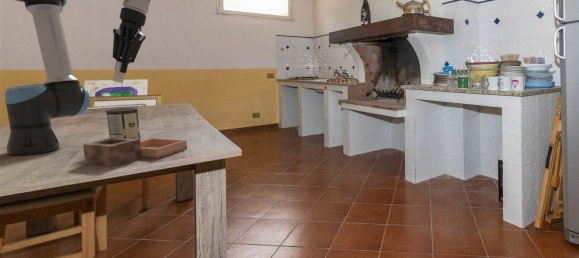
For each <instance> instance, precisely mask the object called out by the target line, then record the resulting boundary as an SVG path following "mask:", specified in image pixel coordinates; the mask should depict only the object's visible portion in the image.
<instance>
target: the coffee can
mask: <svg viewBox="0 0 579 258" xmlns="http://www.w3.org/2000/svg"><path fill="white" fill-rule="evenodd" d="M138 111H139V108H136V107H123V108H112V109H107V110H106V111H105V114H106V120H107V129H108V137H109V138H127V139H140V140H141V133H140V122H139V121H140V120H139V113H138ZM109 138H108V139H109Z"/></svg>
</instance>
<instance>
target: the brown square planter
mask: <svg viewBox="0 0 579 258" xmlns="http://www.w3.org/2000/svg"><path fill="white" fill-rule="evenodd" d="M140 141H141V138H140V139H127V138H105V139H102V140H97V141H92V142H89V143H84V144H82V148H83V155H84V163H85V165H94V166H101V167H102V166H103V167H113V168H114V167H116V166H120V165H123V164H126V163H129V162H132V161H135V160H139V159H141V158H142V157H141V148H140Z"/></svg>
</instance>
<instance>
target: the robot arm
mask: <svg viewBox="0 0 579 258" xmlns="http://www.w3.org/2000/svg"><path fill="white" fill-rule="evenodd" d="M15 1H16V2H20V3H21V2H22V3H24V7H25V10H26V12H29V13H30V14H31V15H32V18H33V19H32V20H33V24H34V27H35V32H36V33H35V34H36V36H37V41H38V45H39V49H40V55H41V59H42V62H43V67H44V71H45V72H44V73H45V76H46V79H45V81H43V83H32V84H23V85H16V86H12V87H9V88H7V89H6V90H5V92H4V102H5V107H6V111H7V117H8V125H9V130H10V131H9V136H8V138H7V139H8V140H7V144H6V154H7V155H8V154H9V156H27V155H38V154H43V153H48V152H49V153H50V152H52V151H56V150H58V149H60V141H59V139H58V138H57V136H56V133H55V132H54V130H53V128H52V124H51V120H52V119H58V118H59V119H60V118H66V117H67V118H68V117H69V118H70V117H75V116H78V115H80V116H81V115H83V114H84V113H85V112H86V111H87V110H88V108H89V106H90V101H91V100H90V99H91V97H90V93H89V90H88V89H87V88H86V87H85V86H83V85H81V84H80V80H79V79H78V78H76V77H75V76H74V73H73V68H72V64H71V59H70V54H69V51H68V46H67V40H66V37H65V36H66V35H65V33H64V28H63V22H62V19H61V13H62V12H63V11H64V7H65V6H66V4H67V1H68V0H15ZM150 3H151V0H123V1H122V6H123V7H121V9H120V14H119V19H120V20H121V22H120V24H119V27H117V28H113V29H112V34H113V41H112V43H113V45H112V46H113V47H112V58H113V59H115V66H114V73H113V78H112V82H116V83H121V84H124V80H125V76H126V74H127V70H128V67H129V64H131V63H132V64H134V63H135V60H136V58H137V55H138V53H139V51H140V49H141V46H142V44H143V42H144V41H145V39H146V35H145V34H143V32H142V27H144V26H146V21H147V14H148V13H149V8H150Z"/></svg>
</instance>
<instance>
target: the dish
mask: <svg viewBox="0 0 579 258" xmlns="http://www.w3.org/2000/svg"><path fill="white" fill-rule="evenodd" d="M140 148H141V158H145V159H156V160H157V159H161V158H163V157H166V156H169V155H173V154H175V153H177V152H181V151H184V150H186V149H188V145H187V140H186V139H174V138H173V139H172V138H159V137H158V138H156V137H151V138H148V139H143V140H140Z"/></svg>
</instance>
